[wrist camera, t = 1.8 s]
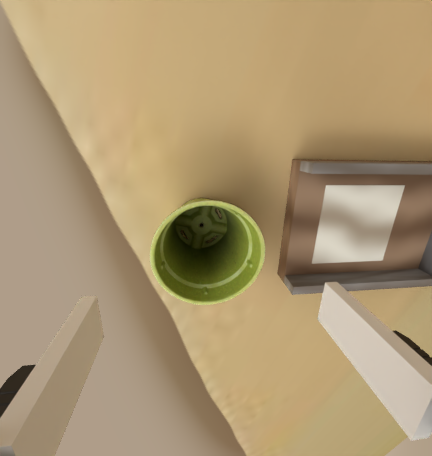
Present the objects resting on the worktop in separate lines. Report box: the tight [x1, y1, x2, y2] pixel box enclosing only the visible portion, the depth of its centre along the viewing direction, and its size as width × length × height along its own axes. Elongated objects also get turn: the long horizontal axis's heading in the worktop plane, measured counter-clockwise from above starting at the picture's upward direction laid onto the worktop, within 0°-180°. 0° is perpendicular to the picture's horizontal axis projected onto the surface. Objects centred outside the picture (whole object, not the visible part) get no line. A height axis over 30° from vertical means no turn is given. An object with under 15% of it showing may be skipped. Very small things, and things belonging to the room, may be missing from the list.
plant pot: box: [150, 198, 265, 305], centre depth 23 cm, size 9×9×9 cm
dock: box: [278, 159, 432, 295], centre depth 27 cm, size 14×20×4 cm
